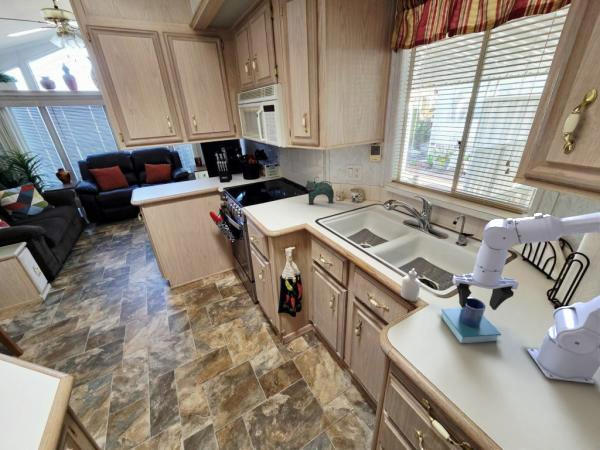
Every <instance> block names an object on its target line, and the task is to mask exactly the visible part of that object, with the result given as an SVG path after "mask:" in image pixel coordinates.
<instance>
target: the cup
mask: <svg viewBox="0 0 600 450" xmlns="http://www.w3.org/2000/svg"><path fill="white" fill-rule="evenodd" d="M460 308H461V311H460V315H459V320H460V321H461V322H462V323H463V324H465V325H466V326H469V327H478V326H479V325H480V323H481V320H482V317H483V315H484V313H485V311H486V304H485V303H484V301H482V300H480V299H479V298H475V297H472V296H469V297H468V299H467V302H466V306H465V308H462V307H461V306H460Z"/></svg>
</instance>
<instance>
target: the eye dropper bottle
mask: <svg viewBox="0 0 600 450" xmlns="http://www.w3.org/2000/svg"><path fill="white" fill-rule="evenodd" d="M417 275H418V273H417V271H415V268H412V269H411V270H409V271H408V275H405V276H403V277H402V281H401V287H400V297H401V298H403V299H404V300H407V301H410V302H418V299H419V295H420V289H421V281H420V280H419V278H417Z"/></svg>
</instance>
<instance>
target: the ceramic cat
mask: <svg viewBox="0 0 600 450" xmlns="http://www.w3.org/2000/svg"><path fill="white" fill-rule="evenodd" d="M316 178H318V179H320V177H319V176H315V177H314V178H313V180H307V181H306V184H305V188H306V190H307V191H308V197H307V198H308V205H312V206H313V205H314V202H315V199H316V197H317V196H320V195H321V196H326V197H327V202H328V204H333V203H334V197H335V192H334V189H333V184H332V183H331V182H330V181H329V180H322V181H320V182H316Z"/></svg>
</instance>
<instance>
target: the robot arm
mask: <svg viewBox="0 0 600 450" xmlns="http://www.w3.org/2000/svg"><path fill="white" fill-rule="evenodd" d="M593 233H594V234H595V233H600V211H598V212H593V213H587V214H581V215H575V216H568V217H562V218H561V217H560V218H559V217H556V216H555V215H552V214H545V215H544V214H543V213H542V212H538V213H534V214H533V216H529V217H522V218H515V219H513V217H512V218H511V217H509V218H506V219H505V220H504V219H501V218H498V219H497V218H495V219H493V220H491V221H489V222H488V223H486V225H485V226H484V230H483V234H482V241H481V244H480V246H479V248H478V253H477V256H476V260H475V264H474V267H473V271H472V273H466V274H460V275H453V276H452V280H451V281H452V284H453V285H454V286H456V289H457V292H458V303H459V305H460V308H461V307H462V308H465V306H466V302H467V299H468V297H471V294H472V291H471V290H470V286H473V287H477V288H483V289H486V290H487V289H488V290H492V293H491V296H490V299H489V306H490V308H491V309H492V311H496V310H497V309H498V308H499V307H500V305H502V304H503V303H504V302H505V301H506V300H508V299H510V298H512V297H513V296H514V294H515V291H514V290H518V287H519V284H520V283H519V282H518V281H517V280H516V279H515V278H510V277H504V276H502V274H503V271H504V269H505V265H506V263H507V262H506V261H507V259H508V256H509V249H510V248H511V247H512V246H514V245H522V244H523V245H524V244H533V243H544V242H545V243H547V242H556V241H558V240H559V239H560V238H561V237H563V236H565V235H576V234H593ZM552 314H553V315H552V316H553V319H554V324H553V325H552V326H551V327H549V328H548V329H547V332H546V334H545V336H544V338H543V339H542V342H541V344H540V346H539V348H538V349H537V348H536V349H535V348H527V352H528V354H529V355H530V357H531V358H532V359H533V360H534V362H535V364H536V365H537V366H538V368H539V369H540V370H541V372H542V373H543V374H544V376H545V377H546V378H547V379H551V380H560V381H567V382H568V381H570V382H576V383H585V384H595V380H594V379H593V377H594V376H595V374H596V372H597V371H598V370H599V368H600V294H599V295H597V296H596V297H593V298H592V299H591V300H588V301H587V302H581V301H576V302H575V303H573V304H570V305H567V306H561V307H560V306H559V307H558V308H556V309H555V310H554V311H553V313H552Z"/></svg>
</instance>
